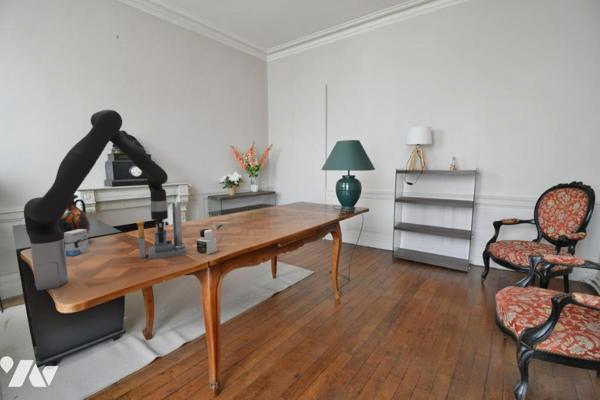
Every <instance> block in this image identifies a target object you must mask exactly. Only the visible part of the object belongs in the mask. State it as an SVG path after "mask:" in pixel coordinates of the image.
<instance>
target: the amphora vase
mask: <svg viewBox="0 0 600 400" xmlns="http://www.w3.org/2000/svg"><path fill="white" fill-rule="evenodd" d="M78 198H79V196H78V195H77V194H74V195H73V197H72V199H71V201H70V203H69V205H68V207H67V209H66V211H65V213H64V215H63V216H62V217H61V218H60V219H59V220H58V225H59V228H60V229H61V230H62V232H63V236H64V233H65V232H69V231H73V230H77V229H85V230H87V235H89V233H90V231H91V221H90V219H89V218H88V216H87V209H86V208H87V207H86V203H85V202H84V200H83V199H80V198H79V199H78ZM79 202H80V204H81V206H82V209H81V208H79V207H78V206H77V203H79ZM64 246H65V240H64Z"/></svg>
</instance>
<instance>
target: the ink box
mask: <svg viewBox="0 0 600 400" xmlns="http://www.w3.org/2000/svg"><path fill="white" fill-rule="evenodd" d="M88 235H89V234H87V230H85V229H77V230H73V231H69V232H65V233H64V240H65V256H69V257H75V256H78V255H82V254H83V253H87V252H89V251H90V249H89V247H90V246H89V237H88Z"/></svg>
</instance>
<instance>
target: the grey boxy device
mask: <svg viewBox="0 0 600 400" xmlns="http://www.w3.org/2000/svg"><path fill="white" fill-rule="evenodd" d="M199 236H200V237H199V238H198V239H196V253H197V254H200V253H201V254H202V255H205V256H206V255H207V256H208V255H210V253H211V254H213V253H216V252H217V251H218V250H217V249H218V248H217V247H218V246H217V238H216V237H213V230H212V229H211V228H204V229H201V230H200V231H199Z"/></svg>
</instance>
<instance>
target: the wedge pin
mask: <svg viewBox="0 0 600 400" xmlns="http://www.w3.org/2000/svg"><path fill="white" fill-rule="evenodd" d="M145 224H146V221H145V220H137V221H136V225H137V228H138V229H137V231H138V240H139V239H140V238H144V236H145V226H144V225H145ZM145 238H146V237H145ZM145 238H144V240H145V241H146V239H145Z"/></svg>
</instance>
